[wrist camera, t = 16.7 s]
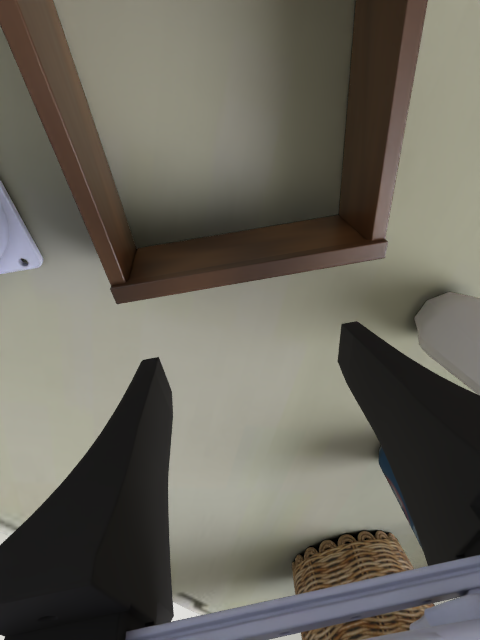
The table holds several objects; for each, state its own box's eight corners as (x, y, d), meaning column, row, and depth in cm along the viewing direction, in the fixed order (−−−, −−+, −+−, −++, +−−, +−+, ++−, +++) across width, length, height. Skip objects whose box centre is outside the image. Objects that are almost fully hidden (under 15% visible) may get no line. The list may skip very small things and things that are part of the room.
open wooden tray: (128, 262, 21) (116, 304, 17) (9, -64, 12) (-70, -128, 8) (349, 225, 21) (385, 258, 17) (383, -110, 13) (468, -188, 9)
